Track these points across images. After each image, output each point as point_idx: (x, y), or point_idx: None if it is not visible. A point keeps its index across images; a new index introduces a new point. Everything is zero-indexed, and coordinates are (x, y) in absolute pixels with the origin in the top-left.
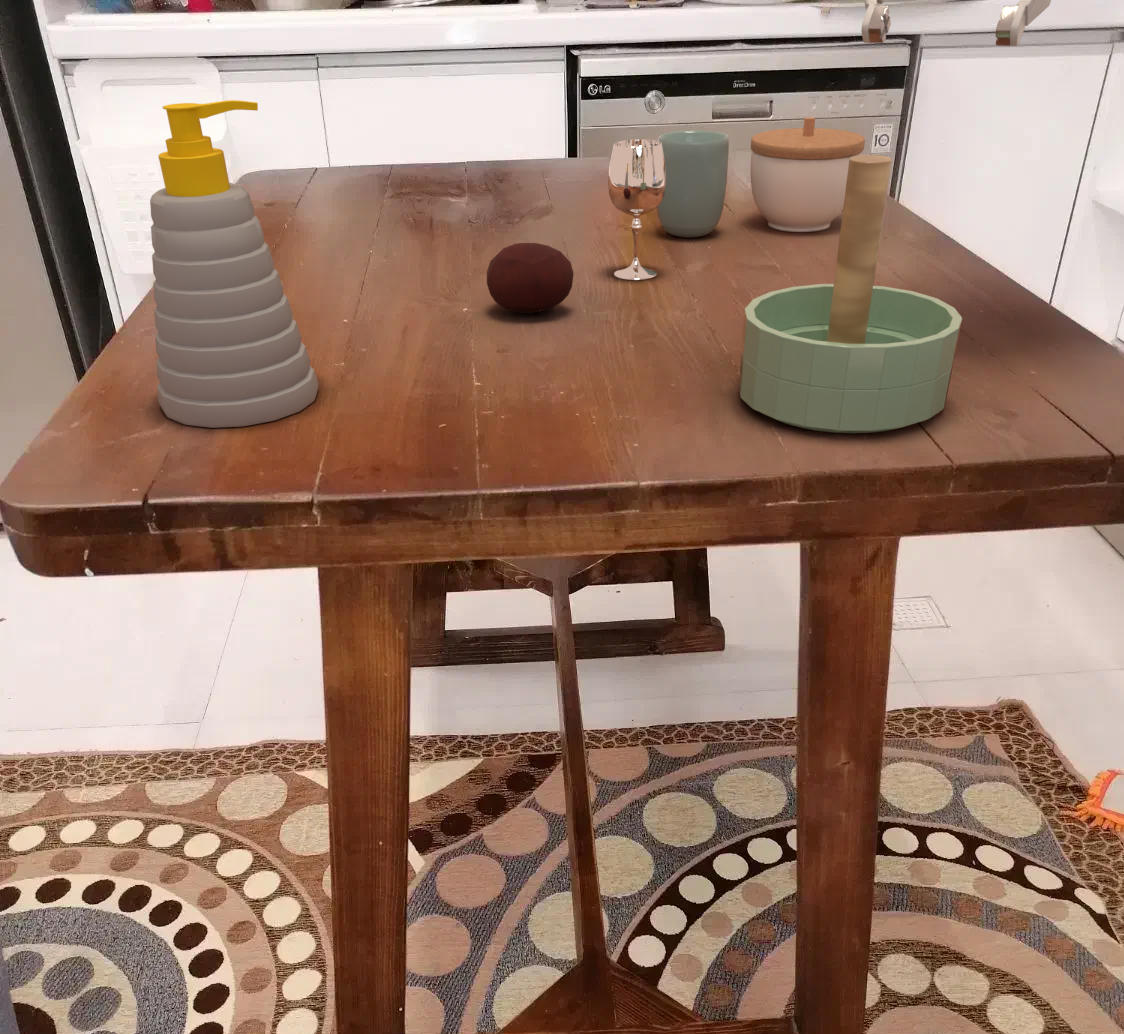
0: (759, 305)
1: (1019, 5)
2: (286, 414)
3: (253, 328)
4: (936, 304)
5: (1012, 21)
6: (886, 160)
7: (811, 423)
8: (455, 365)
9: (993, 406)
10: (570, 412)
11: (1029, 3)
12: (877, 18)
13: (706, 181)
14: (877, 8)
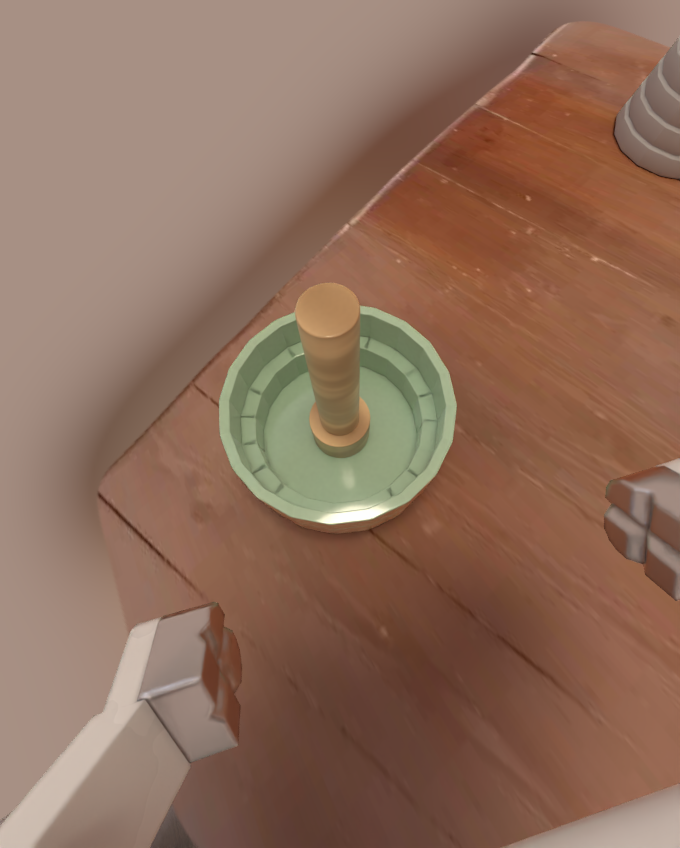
0: (435, 370)
1: (129, 703)
2: (617, 140)
3: (669, 62)
4: (282, 499)
5: (155, 633)
6: (298, 310)
7: None
8: (653, 272)
9: (219, 522)
10: (486, 269)
11: (84, 732)
12: (659, 484)
13: None
14: None
